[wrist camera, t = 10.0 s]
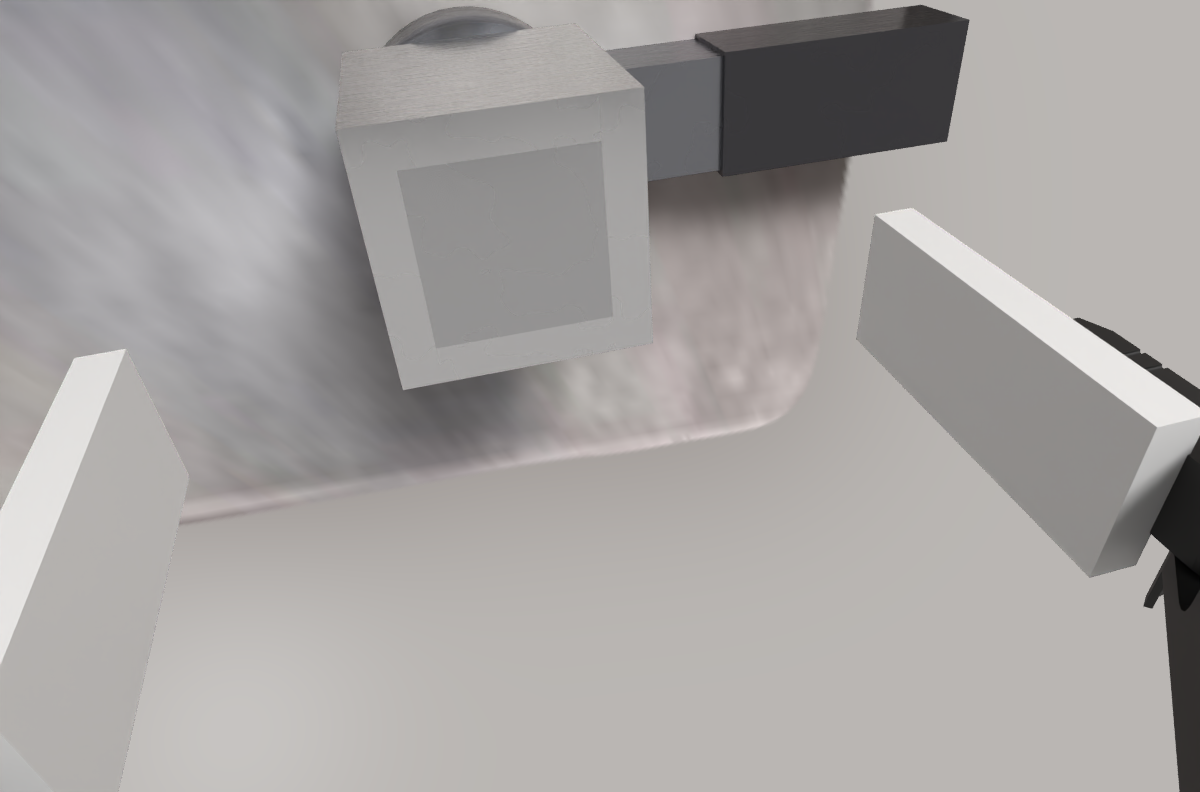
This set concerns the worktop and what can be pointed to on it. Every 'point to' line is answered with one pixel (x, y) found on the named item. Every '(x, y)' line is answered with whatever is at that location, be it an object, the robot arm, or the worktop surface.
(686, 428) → the worktop surface
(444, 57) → the brushed cube with inset
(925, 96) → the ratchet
